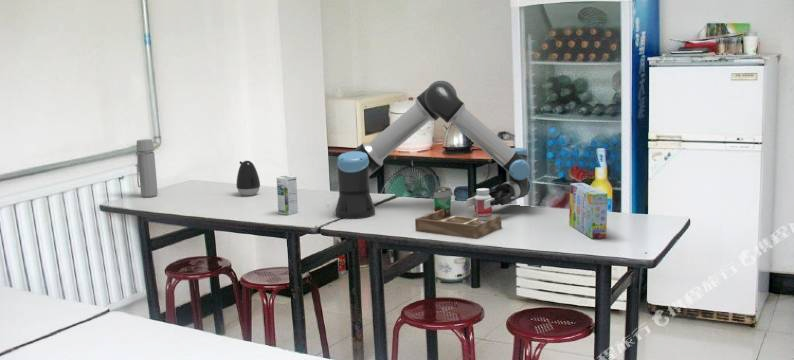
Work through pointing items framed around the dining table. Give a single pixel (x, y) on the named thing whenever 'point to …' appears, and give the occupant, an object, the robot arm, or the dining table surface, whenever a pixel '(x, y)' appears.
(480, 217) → the pill bottle
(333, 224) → the dining table surface
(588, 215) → the snack box
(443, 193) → the food container
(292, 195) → the syrup box
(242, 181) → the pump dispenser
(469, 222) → the walled tray
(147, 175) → the water bottle
